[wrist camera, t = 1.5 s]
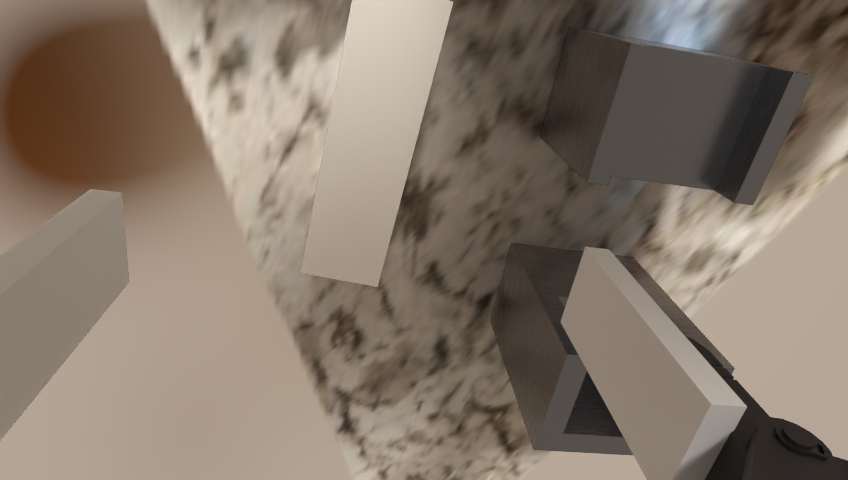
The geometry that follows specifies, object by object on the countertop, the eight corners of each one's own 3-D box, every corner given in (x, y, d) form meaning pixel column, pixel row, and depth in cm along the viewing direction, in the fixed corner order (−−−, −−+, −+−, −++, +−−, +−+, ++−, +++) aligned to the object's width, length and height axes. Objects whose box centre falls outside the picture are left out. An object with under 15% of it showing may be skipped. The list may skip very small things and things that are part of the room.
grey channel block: (569, 26, 28) (631, 42, 21) (712, 52, 29) (814, 75, 22) (539, 136, 30) (586, 182, 24) (672, 156, 32) (752, 205, 25)
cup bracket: (511, 243, 33) (567, 354, 24) (633, 257, 35) (734, 368, 25) (490, 320, 36) (533, 449, 26) (604, 331, 37) (686, 458, 28)
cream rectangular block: (360, -27, 26) (357, -27, 21) (437, -4, 27) (453, 1, 22) (312, 223, 32) (300, 273, 27) (377, 236, 33) (377, 287, 27)
